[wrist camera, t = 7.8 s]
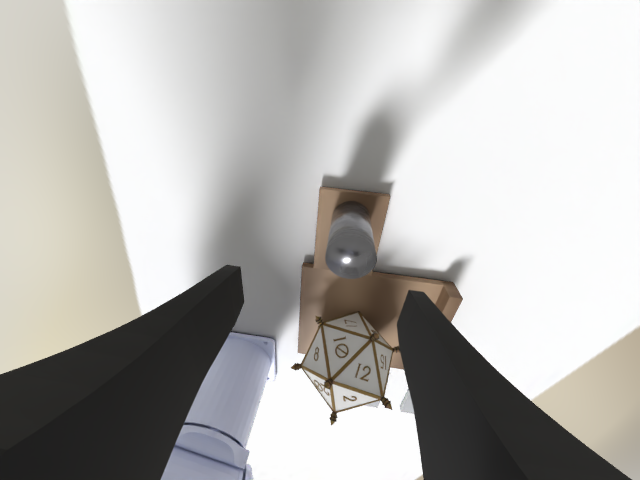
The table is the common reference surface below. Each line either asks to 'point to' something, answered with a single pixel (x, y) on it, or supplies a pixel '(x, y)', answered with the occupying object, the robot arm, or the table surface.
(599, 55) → the table surface
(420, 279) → the brown base with post
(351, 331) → the game die
